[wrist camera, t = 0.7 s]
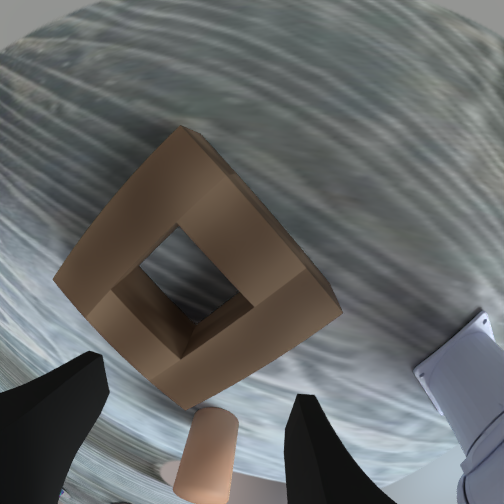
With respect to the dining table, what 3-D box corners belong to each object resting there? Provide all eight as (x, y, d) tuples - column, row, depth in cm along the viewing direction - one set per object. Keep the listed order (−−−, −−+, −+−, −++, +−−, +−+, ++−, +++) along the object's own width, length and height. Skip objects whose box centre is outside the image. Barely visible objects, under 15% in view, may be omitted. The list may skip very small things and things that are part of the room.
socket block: (329, 283, 18) (343, 313, 14) (197, 374, 21) (185, 410, 17) (200, 133, 16) (180, 125, 12) (85, 259, 19) (52, 279, 15)
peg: (248, 425, 22) (240, 501, 15) (216, 439, 23) (202, 508, 16) (215, 401, 22) (197, 480, 14) (184, 416, 23) (161, 488, 15)
